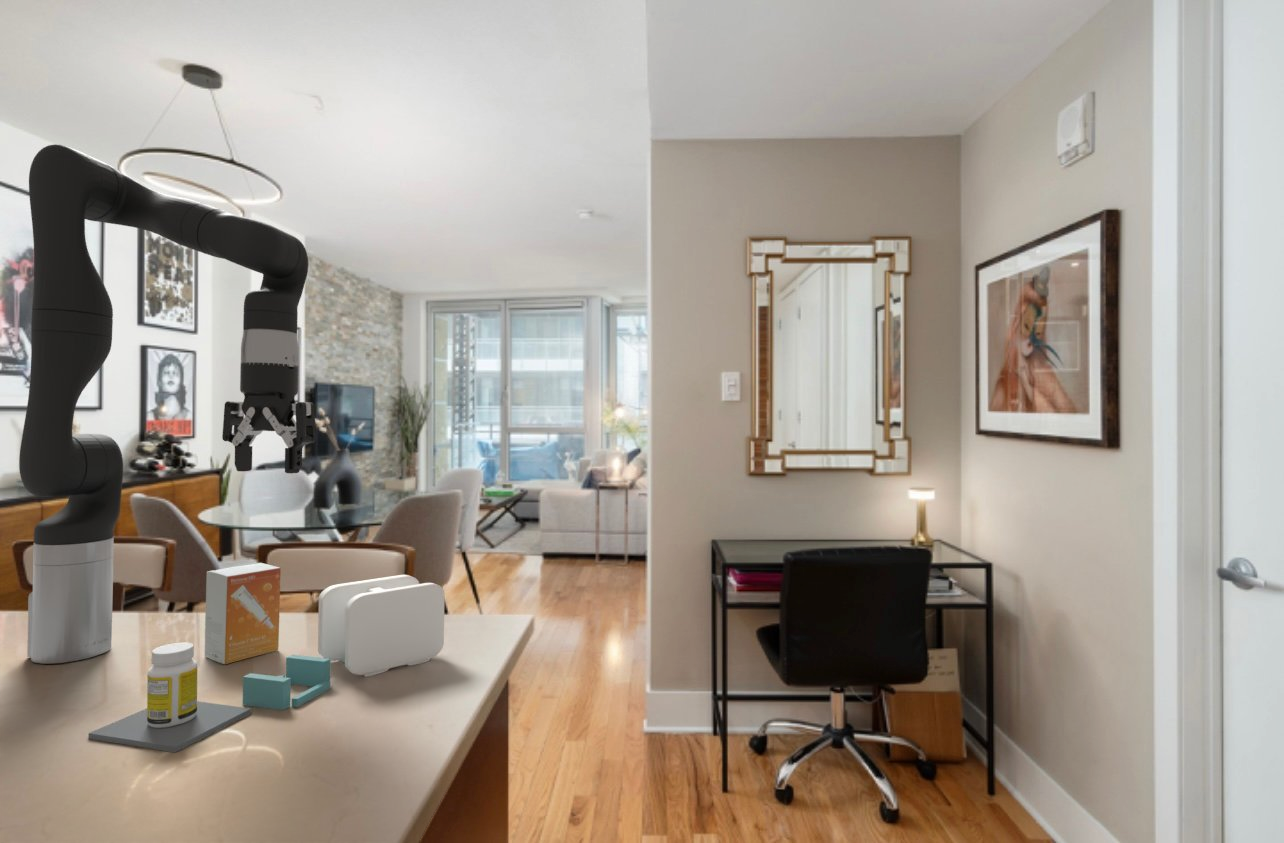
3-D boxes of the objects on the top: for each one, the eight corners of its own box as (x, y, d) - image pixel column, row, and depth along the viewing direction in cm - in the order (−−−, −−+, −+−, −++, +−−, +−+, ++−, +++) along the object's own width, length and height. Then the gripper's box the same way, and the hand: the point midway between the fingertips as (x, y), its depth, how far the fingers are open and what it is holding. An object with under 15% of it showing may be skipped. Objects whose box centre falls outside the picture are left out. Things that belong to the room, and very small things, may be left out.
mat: (88, 738, 74) (88, 733, 74) (171, 702, 84) (171, 697, 84) (175, 752, 71) (175, 746, 71) (250, 713, 81) (250, 708, 81)
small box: (224, 666, 96) (226, 576, 97) (203, 657, 100) (205, 570, 100) (280, 650, 103) (281, 566, 103) (258, 642, 107) (260, 561, 107)
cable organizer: (342, 684, 90) (343, 599, 90) (315, 663, 98) (317, 584, 98) (444, 659, 101) (445, 582, 101) (413, 642, 108) (414, 570, 108)
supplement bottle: (195, 707, 81) (196, 638, 81) (199, 721, 77) (200, 649, 77) (145, 718, 78) (147, 646, 78) (147, 733, 74) (148, 657, 74)
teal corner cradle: (235, 703, 83) (236, 675, 83) (286, 679, 92) (286, 653, 92) (289, 711, 82) (290, 682, 82) (336, 685, 90) (336, 659, 90)
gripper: (208, 360, 96) (206, 472, 96) (291, 359, 93) (289, 475, 93) (250, 365, 104) (248, 469, 104) (329, 364, 100) (327, 472, 100)
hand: (268, 472), depth 98 cm, fingers open, 8 cm apart
